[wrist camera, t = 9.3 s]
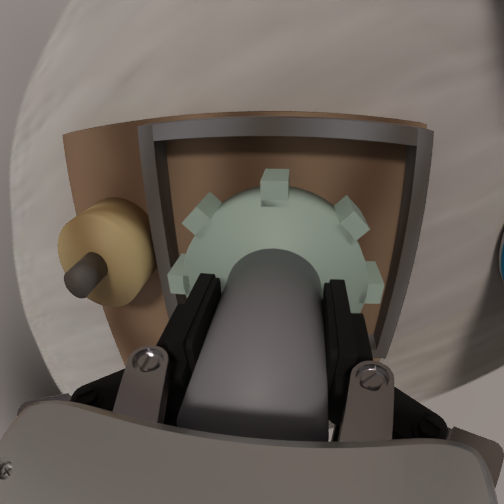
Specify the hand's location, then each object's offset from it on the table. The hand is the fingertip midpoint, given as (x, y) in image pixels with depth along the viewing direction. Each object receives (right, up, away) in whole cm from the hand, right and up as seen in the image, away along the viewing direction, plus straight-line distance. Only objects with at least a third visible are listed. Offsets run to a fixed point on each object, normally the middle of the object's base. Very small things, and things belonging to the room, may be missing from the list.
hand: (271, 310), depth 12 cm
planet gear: (0, +2, +3) cm, 3 cm away
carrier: (-2, 0, +7) cm, 8 cm away
